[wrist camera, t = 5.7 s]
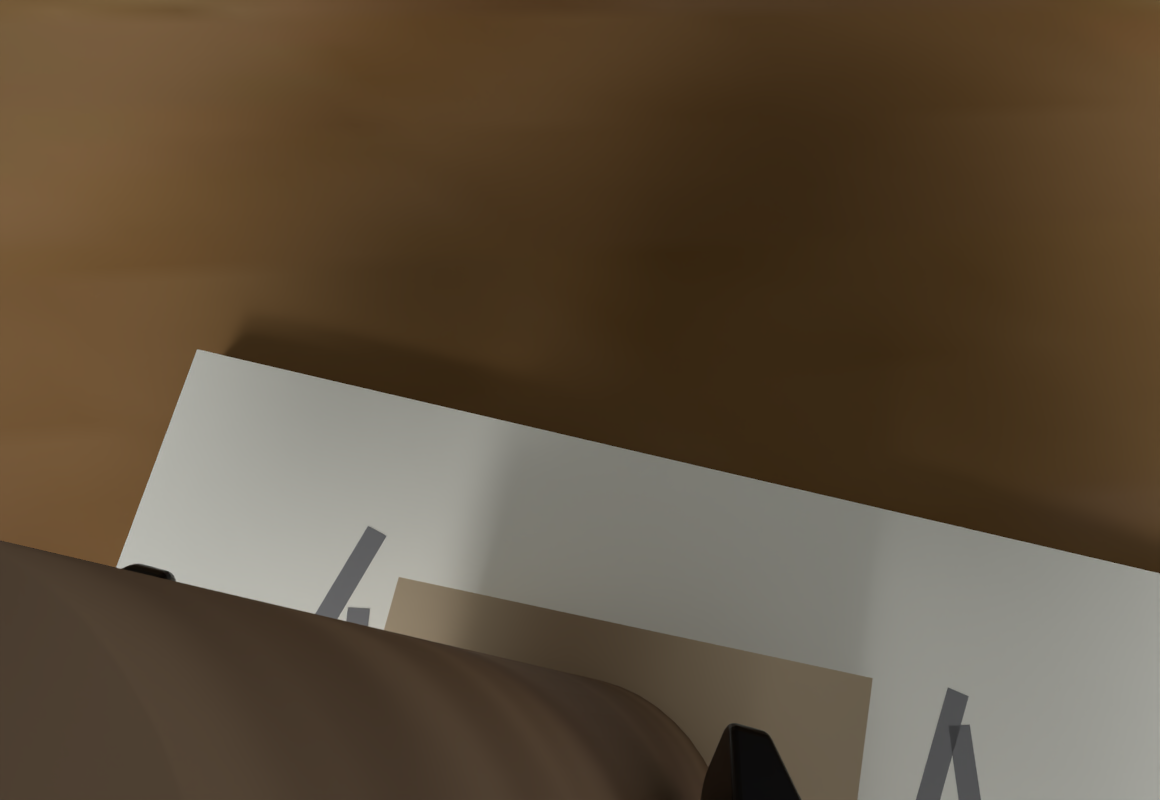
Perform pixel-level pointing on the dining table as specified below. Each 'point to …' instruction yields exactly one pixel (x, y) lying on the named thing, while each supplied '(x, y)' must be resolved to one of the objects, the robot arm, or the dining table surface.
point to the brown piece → (380, 698)
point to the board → (671, 572)
